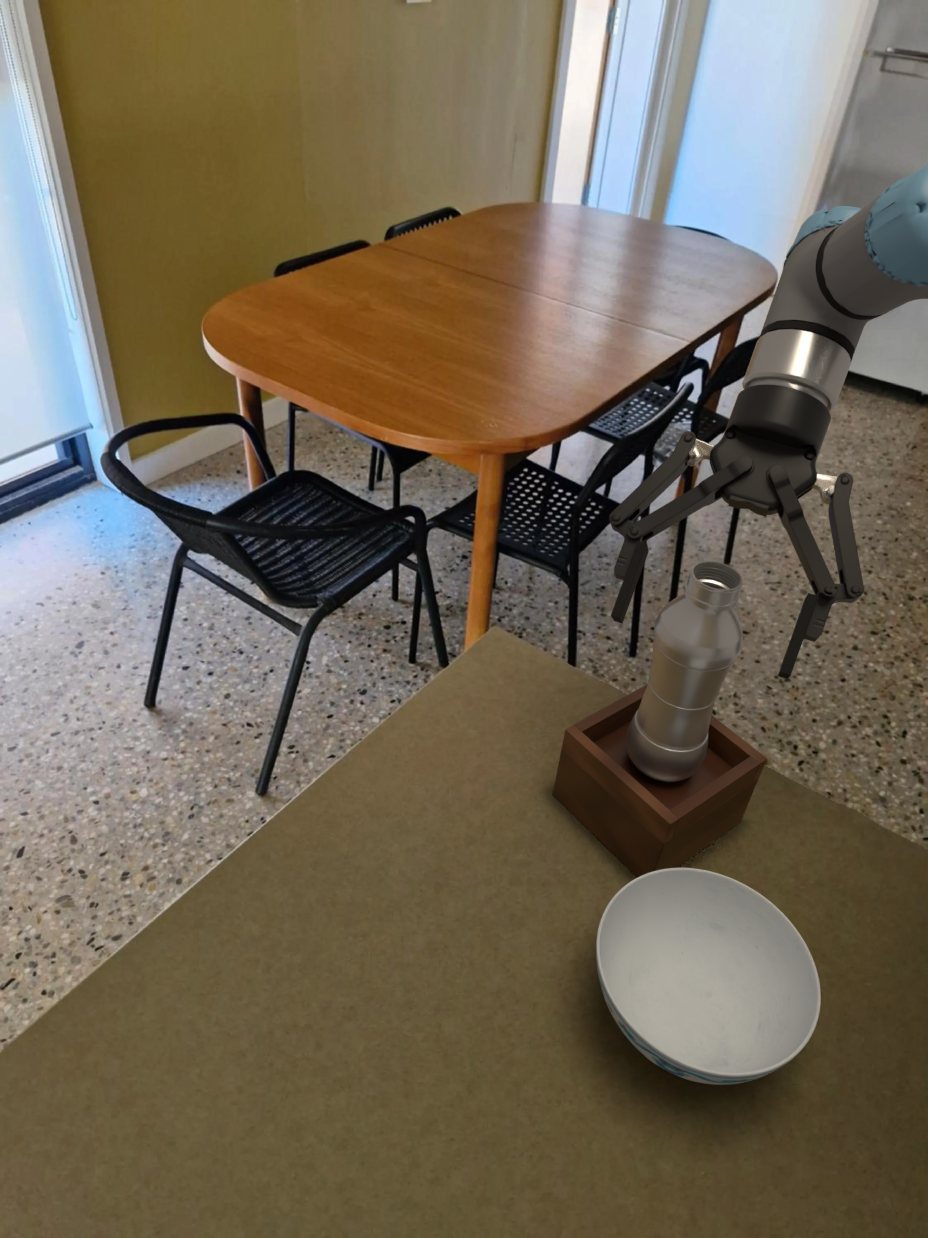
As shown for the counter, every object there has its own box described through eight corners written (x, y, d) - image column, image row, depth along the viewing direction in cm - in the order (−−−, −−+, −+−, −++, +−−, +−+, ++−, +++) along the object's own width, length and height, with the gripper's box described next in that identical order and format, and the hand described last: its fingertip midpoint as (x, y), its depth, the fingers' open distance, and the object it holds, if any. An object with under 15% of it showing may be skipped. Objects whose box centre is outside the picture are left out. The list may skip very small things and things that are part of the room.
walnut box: (740, 822, 79) (767, 758, 74) (648, 889, 73) (670, 824, 68) (643, 739, 86) (661, 675, 81) (552, 794, 80) (565, 729, 75)
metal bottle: (683, 805, 73) (749, 616, 60) (608, 769, 75) (656, 580, 63) (709, 756, 77) (776, 570, 64) (637, 724, 80) (688, 539, 67)
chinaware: (593, 1126, 59) (614, 1074, 54) (569, 922, 70) (584, 864, 65) (814, 1128, 60) (854, 1077, 55) (754, 927, 71) (782, 869, 66)
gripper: (936, 458, 72) (851, 704, 71) (641, 383, 79) (558, 605, 78) (962, 424, 65) (868, 697, 63) (635, 345, 72) (544, 589, 71)
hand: (697, 647), depth 71 cm, fingers open, 13 cm apart
